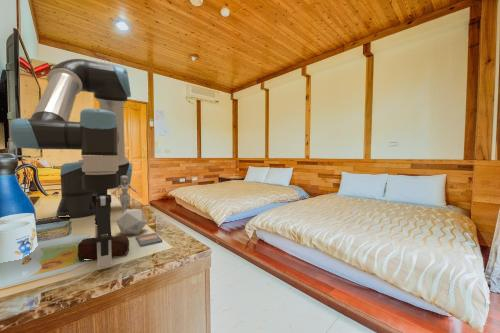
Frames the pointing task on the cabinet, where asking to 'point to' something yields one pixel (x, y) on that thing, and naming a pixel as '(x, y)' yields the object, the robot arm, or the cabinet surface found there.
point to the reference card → (148, 239)
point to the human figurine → (124, 192)
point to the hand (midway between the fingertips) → (103, 257)
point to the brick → (89, 248)
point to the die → (131, 221)
